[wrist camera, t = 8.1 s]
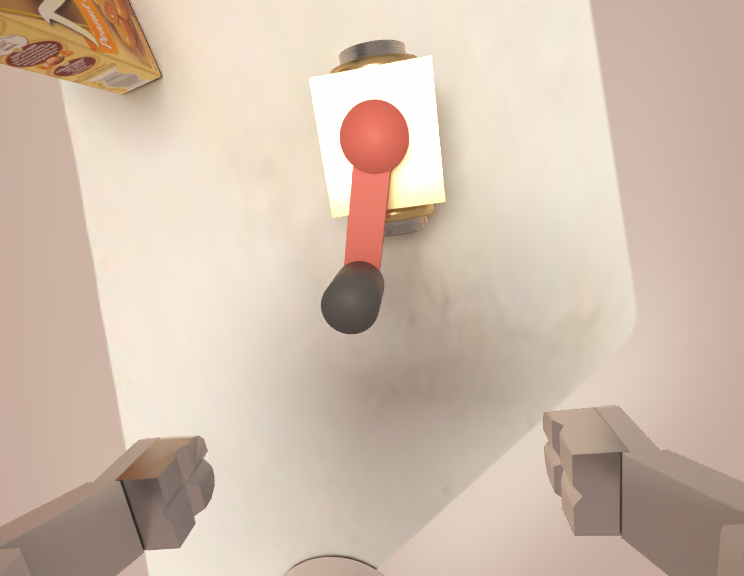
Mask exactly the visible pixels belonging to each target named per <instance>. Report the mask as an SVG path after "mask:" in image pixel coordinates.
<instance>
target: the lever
mask: <svg viewBox="0 0 744 576" xmlns="http://www.w3.org/2000/svg"><path fill="white" fill-rule="evenodd" d="M339 139H340V146H341V149H342V152H343V154H344V156H345V157H346V159H347V160H348V161H349V163H350V164H351V165H353V168H352V180H351V192H350V204H349V216H348V227H347V239H346V251H345V263H344V267H343V268H342V269H341V270H340V271H339V273H338V274H337V275H336V277H335V278H334V280H333V281H332V282H331V284H330V285H329V286H328V288H327V289H326V291H325V292H324V294H323V297H322V301H321V310H322V314H323V316H324V318H325V320H326V321H327V323H328V324H329V325H330V326H331V327H332V328H334V329H335V330H337V331H339V332H342V333H345V334H357V333H361V332H363V331H365V330H367V329H368V328H370V327H371V326H372V325H373V323H374V322H375V320H376V318H377V316H378V312H379V308H380V304H381V300H382V295H383V291H384V279H383V276H382V274H381V273H380V267H381V258H382V249H383V240H384V231H385V222H386V213H387V204H388V195H389V186H390V177H391V169H393V168H395V167H396V166H397V165H398V164H399V163H400V162H401V161H402V160H403V158H404V156H405V155H406V152H407V150H408V146H409V129H408V125H407V122H406V120H405V117H404V116H403V114H402V113H401V112H400V110H399V109H398V108H397V107H395V106H394V105H393V104H391V103H389V102H387V101H384V100H380V99H369V100H365V101H362V102H360V103H358V104H356V105H355V106H354V107H352V108H351V109H350V110H349V111H348V113H347V114H346V115H345V117H344V119H343V121H342V124H341V127H340V134H339Z"/></svg>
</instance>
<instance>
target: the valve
mask: <svg viewBox="0 0 744 576" xmlns="http://www.w3.org/2000/svg"><path fill="white" fill-rule="evenodd" d="M339 59H340V65H339V66H337V67H336V68H334V69H333V70H332V71H331V72H330V74H329V75H324V76H318V77H313V78H309V81H310V87H311V92H312V98H313V104H314V110H315V116H316V122H317V128H318V134H319V140H320V146H321V152H322V158H323V164H324V170H325V176H326V182H327V188H328V194H329V200H330V206H331V211H332V217H339V216H346V215H349V204H350V192H351V180H352V168H353V165H351V164H350V163H349V161H348V160H347V159H346V157H345V156H344V154H343V152H342V149H341V146H340V139H339V134H340V127H341V124H342V121H343V119H344V117H345V115H346V114H347V113H348V111H349V110H350V109H351V108H352V107H354V106H355V105H356V104H358V103H360V102H362V101H365V100H369V99H380V100H384V101H387V102H389V103H391V104H393V105H394V106H395V107H397V108H398V109H399V110H400V112H401V113H402V114H403V116H404V117H405V120H406V122H407V125H408V129H409V146H408V150H407V152H406V155H405V156H404V158H403V160H402V161H401V162H400V163H399V164H398V165H397V166H396V167H395V168H393V169H391V177H390V186H389V195H388V204H387V213H386V222H385V231H384V237H385V236H394V235H401V234H406V233H411V232H415V231H419V230H422V229H424V228H425V224H424V223H428V219H427V216H428V215H431V214H433V213H434V203H440V202H445V194H444V183H443V173H442V162H441V152H440V141H439V131H438V120H437V110H436V99H435V89H434V78H433V68H432V57H431V56H426V57H421V58H418V57H416V56H414V55H410V54H406V51H405V44H404V43H403V42H400V41H396V40H377V41H370V42H365V43H361V44H358V45H355V46H352V47H350V48H347V49H346V50H344V51H343V52H341V53H340V55H339Z"/></svg>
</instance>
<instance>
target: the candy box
mask: <svg viewBox="0 0 744 576" xmlns="http://www.w3.org/2000/svg"><path fill="white" fill-rule="evenodd" d="M0 63H1V64H5V65H9V66H13V67H17V68H20V69H24V70H28V71H32V72H35V73H40V74H44V75H48V76H52V77H55V78H59V79H63V80H67V81H71V82H75V83H79V84H83V85H87V86H91V87H95V88H99V89H103V90H107V91H111V92H115V93H118V94H125V93H127V92H129V91H131V90H133V89H135V88H137V87H139V86H141V85H144V84H146V83H148V82H150V81H153V80H155V79H157V78H159V77H160V76H161V74H160V72H159V69H158V67H157V65H156V62H155V60H154V58H153V56H152V53H151V51H150V49H149V46H148V44H147V42H146V40H145V38H144V35H143V33H142V31H141V28H140V26H139V24H138V22H137V20H136V17H135V15H134V13H133V11H132V9H131V6H130V4H129V2H128V0H0Z"/></svg>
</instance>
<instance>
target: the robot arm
mask: <svg viewBox="0 0 744 576" xmlns="http://www.w3.org/2000/svg"><path fill="white" fill-rule="evenodd" d="M543 430H544V432H545V434H546V436H547V438H548V440H549V441H548V442H547V444H546V445H545V446H544V452H545V462H546V468H547V473H548V476H549V479H550V483H551V485H552V487H553V490H554V492H555V493H556V494H558V495H559V496H561V497H562V510H563V512H564V514H565V516H566V518H567V520H568V523H569V525H570V527H571V529H572V531H573V533H574V535H575V536H622V538H623V539H624V540H625V541H626V542H628V543H629V544H630V545H631V546H632V547H634V548H635V549H636V550H637V551H639V552H640V553H641V554H643V555H644V556H645V557H646V558H647V559H649V560H650V561H651V562H652V563H654V564H655V565H656V566H657V567H658V568H660V569H661V570H662V571H663V572H665V573H666V574H667V575H669V576H744V482H742V481H740V480H737V479H735V478H733V477H730V476H728V475H726V474H723V473H721V472H719V471H716V470H714V469H712V468H709V467H707V466H705V465H702V464H700V463H698V462H695V461H693V460H690V459H688V458H686V457H684V456H681V455H679V454H677V453H674V452H672V451H669V450H659V448H658V447H656V445H655V444H654V443H653V442H652V441H651V440H650V439H649V438H648V437H647V436H646V435H645V434H644V433H643V431H642V430H641V429H639V427H638V426H637V425H636V424H635V423H634V422H633V421H632V420H631V418H630V417H629V416H628V415H627V414H626V413H625V412H624V411H623V410H622V409H621V408H620V407H619V406H616V405H611V406H602V407H592V408H583V409H572V410H562V411H551V412H544V414H543ZM207 451H208V450H207V447H206V444H205V441H204V439H203V438H201V437H200V436H182V437H163V438H160V437H158V438H147V439H142V440H138V441H137V442H136V443H135V444H134V445H133V446H132V447H131V448H129V449H128V450H127V451H126V452H125V453H124V454H123V455H122V456H121V457H120V458H119V459H118V460H117V461H115V463H113V464H112V465H111V466H110V467H109V468H108V469H107V470H106V471H105V472H104V473H103V474H102V475H100V476H99V477H98V478H97V479H96V480H95V481H94V482H91V483H85V484H84V485H81V486H80V487H78V488H76V489H74V490H72V491H70V492H68V493H66V494H64V495H62V496H60V497H58V498H56V499H54V500H52V501H50V502H48V503H46V504H44V505H42V506H40V507H38V508H36V509H34V510H32V511H30V512H28V513H27V514H24V515H23V516H21V517H19V518H17V519H15V520H13V521H11V522H9V523H7V524H5V525H3V526H1V527H0V576H116V575H118V574H119V573H120V572H121V571H122V570H124V569H125V568H126V567H127V566H128V565H129V564H131V563H132V562H133V561H134V560H135V559H137V558H138V557H139V556H140V555H142V553H144V550H158V549H174V548H180V547H181V545H182V544H183V542H184V541H185V539H186V538H187V536H188V534H189V533H190V531H191V530H192V528H193V527H194V525H195V524H196V523H195V517H194V516H195V515H197V514H198V513H199V512H201V511H202V510H203V509H205V508H206V506H207V505H208V503H209V501H210V500H211V498H212V494H213V490H214V486H215V485H214V473H213V469H212V466H211V465H210V464H209V463H208V462H207V461H206V460H205V459H204V458H205V456H206V453H207ZM285 576H384V575H382V574H381V573H380V572H378V571H377V570H375V569H374V568H372V567H370V566H368V565H366V564H364V563H361V562H358V561H355V560H351V559H347V558H340V557H321V558H315V559H311V560H308V561H305V562H302V563H300V564H298V565H297V566H295V567H294V568H292V569H291V570H290V571H289V572H288V573H287V574H286V575H285Z"/></svg>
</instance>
